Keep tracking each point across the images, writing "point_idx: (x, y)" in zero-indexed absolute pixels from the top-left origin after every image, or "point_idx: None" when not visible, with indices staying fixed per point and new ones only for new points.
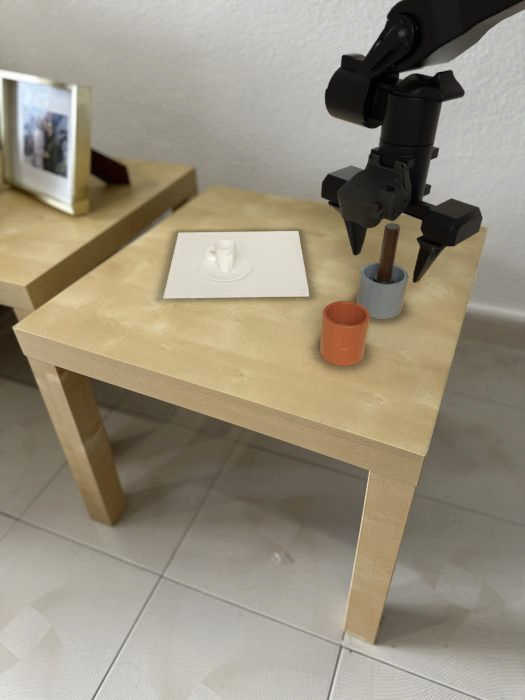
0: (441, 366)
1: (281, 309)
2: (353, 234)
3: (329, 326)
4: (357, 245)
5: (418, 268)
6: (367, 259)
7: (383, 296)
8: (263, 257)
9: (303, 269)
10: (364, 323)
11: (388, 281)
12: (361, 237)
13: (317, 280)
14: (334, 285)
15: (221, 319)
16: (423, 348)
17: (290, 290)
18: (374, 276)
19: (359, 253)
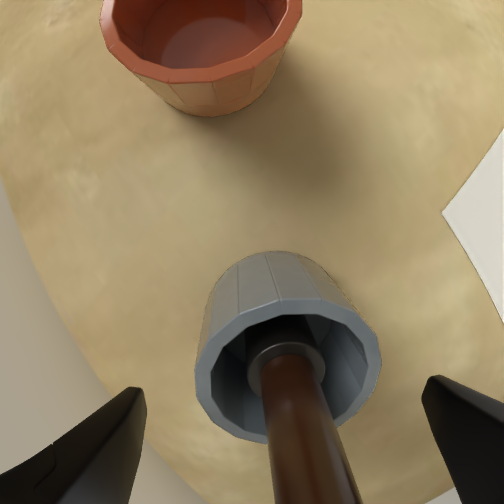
0: (18, 213)
1: (451, 113)
2: (493, 418)
3: None
4: (448, 406)
5: (91, 427)
6: (398, 429)
7: (230, 297)
8: None
9: (494, 297)
10: (103, 5)
11: (256, 364)
12: (452, 440)
13: (458, 288)
14: (419, 304)
15: (484, 16)
16: (73, 240)
17: (481, 201)
18: (318, 355)
19: (422, 395)
